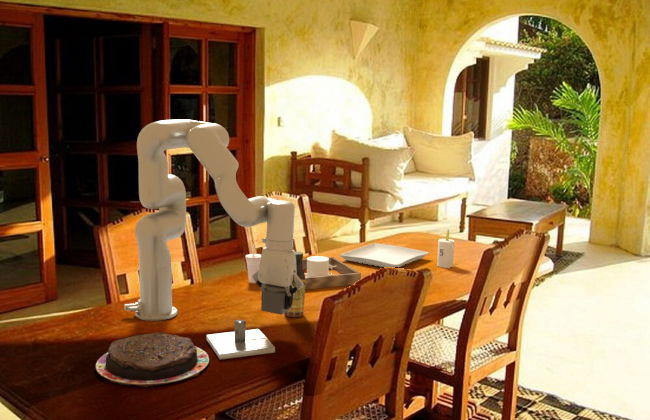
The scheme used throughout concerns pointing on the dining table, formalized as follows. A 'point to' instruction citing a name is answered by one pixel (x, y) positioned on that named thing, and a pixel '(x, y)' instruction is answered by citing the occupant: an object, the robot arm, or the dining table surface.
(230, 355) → the shaft base
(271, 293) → the knob
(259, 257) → the smoothie
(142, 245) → the robot arm
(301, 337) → the dining table surface
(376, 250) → the square plate
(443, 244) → the candle
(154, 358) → the chocolate cake
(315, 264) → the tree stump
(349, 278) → the frame
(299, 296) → the sauce bottle
